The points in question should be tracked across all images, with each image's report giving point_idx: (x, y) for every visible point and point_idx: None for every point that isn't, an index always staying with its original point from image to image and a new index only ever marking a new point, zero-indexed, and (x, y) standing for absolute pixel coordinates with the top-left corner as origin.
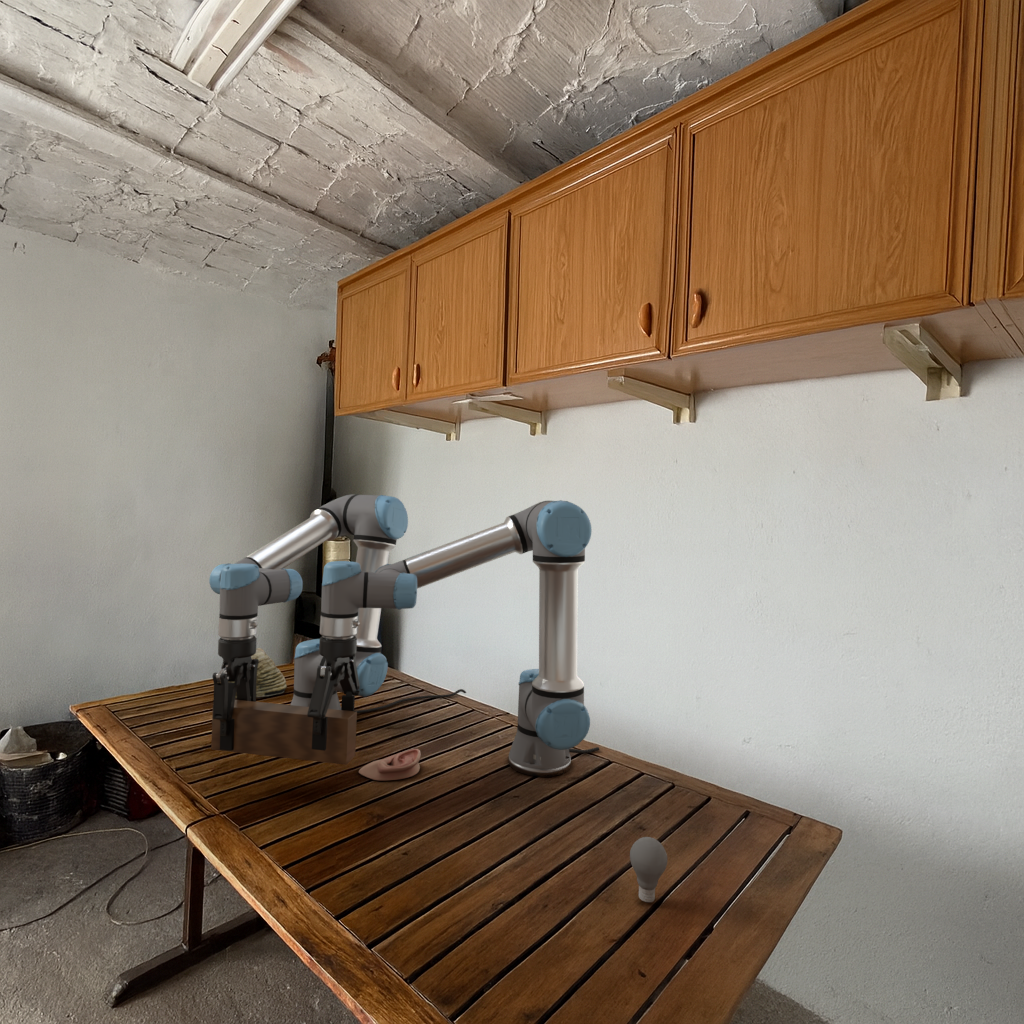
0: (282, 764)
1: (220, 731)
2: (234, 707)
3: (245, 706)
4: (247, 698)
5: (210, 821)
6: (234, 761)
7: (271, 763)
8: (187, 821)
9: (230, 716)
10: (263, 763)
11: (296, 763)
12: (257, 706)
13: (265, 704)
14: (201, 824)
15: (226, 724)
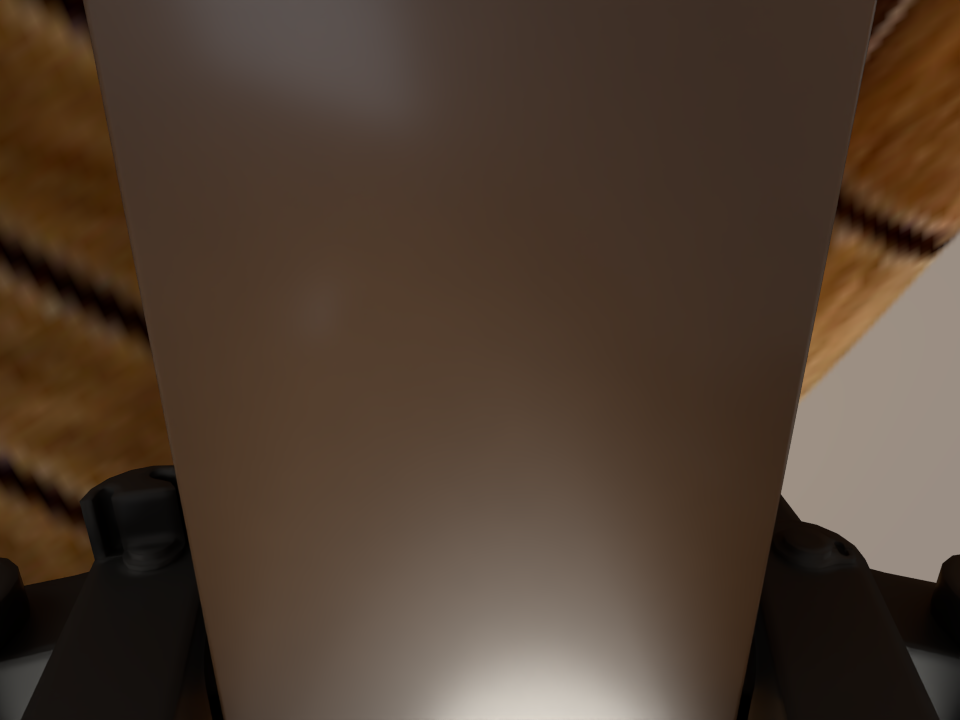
0: (66, 157)
1: None
2: (739, 675)
3: (619, 500)
4: (159, 718)
5: (889, 160)
6: (165, 461)
7: (88, 239)
8: (891, 283)
9: (826, 562)
10: (112, 289)
11: (4, 63)
12: (545, 187)
13: (284, 25)
14: (924, 190)
15: (791, 519)
